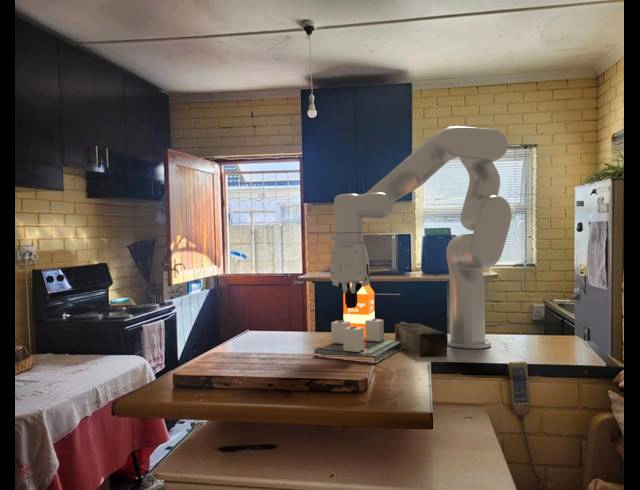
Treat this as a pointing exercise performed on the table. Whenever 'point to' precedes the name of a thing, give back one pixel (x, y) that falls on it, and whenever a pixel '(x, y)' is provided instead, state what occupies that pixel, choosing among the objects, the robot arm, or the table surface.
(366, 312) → the orange juice
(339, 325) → the breaker mid
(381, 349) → the panel
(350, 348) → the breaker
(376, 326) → the breaker
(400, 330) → the beverage carton
